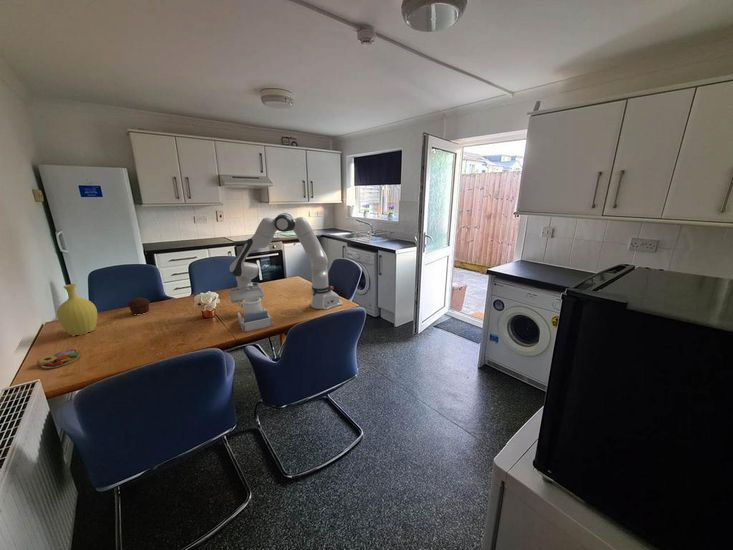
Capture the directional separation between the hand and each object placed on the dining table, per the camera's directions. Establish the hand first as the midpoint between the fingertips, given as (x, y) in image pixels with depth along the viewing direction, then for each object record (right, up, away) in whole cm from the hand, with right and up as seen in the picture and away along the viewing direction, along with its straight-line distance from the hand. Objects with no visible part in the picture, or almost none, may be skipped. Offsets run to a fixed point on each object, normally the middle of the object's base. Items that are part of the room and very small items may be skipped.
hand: (249, 305), depth 188 cm
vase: (-87, -13, -21) cm, 90 cm away
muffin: (-74, -5, +5) cm, 75 cm away
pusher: (+10, -10, -14) cm, 20 cm away
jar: (+7, -10, -9) cm, 15 cm away
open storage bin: (+7, -9, -9) cm, 15 cm away
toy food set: (-69, -21, -50) cm, 88 cm away
